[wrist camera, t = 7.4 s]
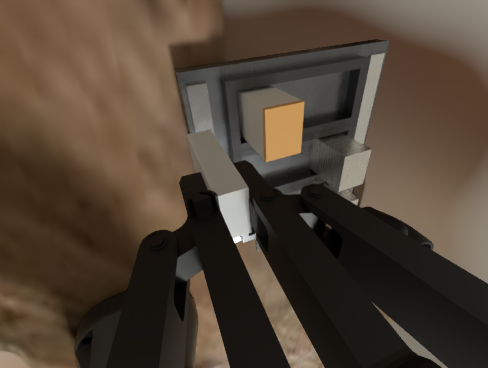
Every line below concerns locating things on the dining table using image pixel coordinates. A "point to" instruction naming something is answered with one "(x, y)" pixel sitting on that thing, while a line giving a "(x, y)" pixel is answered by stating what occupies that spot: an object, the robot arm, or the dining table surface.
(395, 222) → the mug
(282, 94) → the block
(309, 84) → the panel
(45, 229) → the dining table surface
